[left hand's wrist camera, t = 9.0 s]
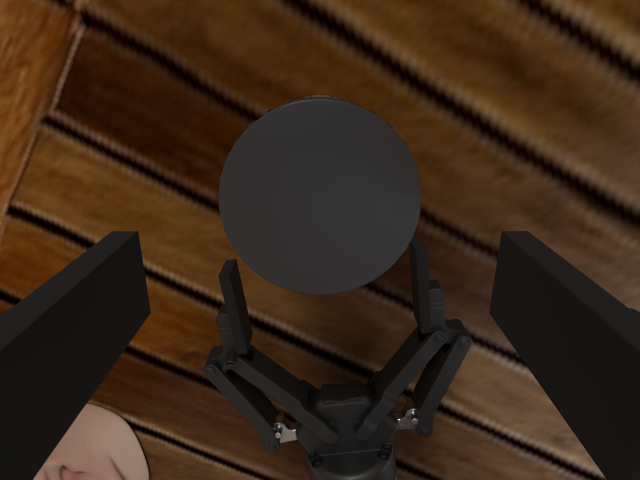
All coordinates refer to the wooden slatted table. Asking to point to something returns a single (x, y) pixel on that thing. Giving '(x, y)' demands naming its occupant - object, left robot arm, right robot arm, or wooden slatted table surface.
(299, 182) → the lid
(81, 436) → the anatomical model
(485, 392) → the wooden slatted table surface
